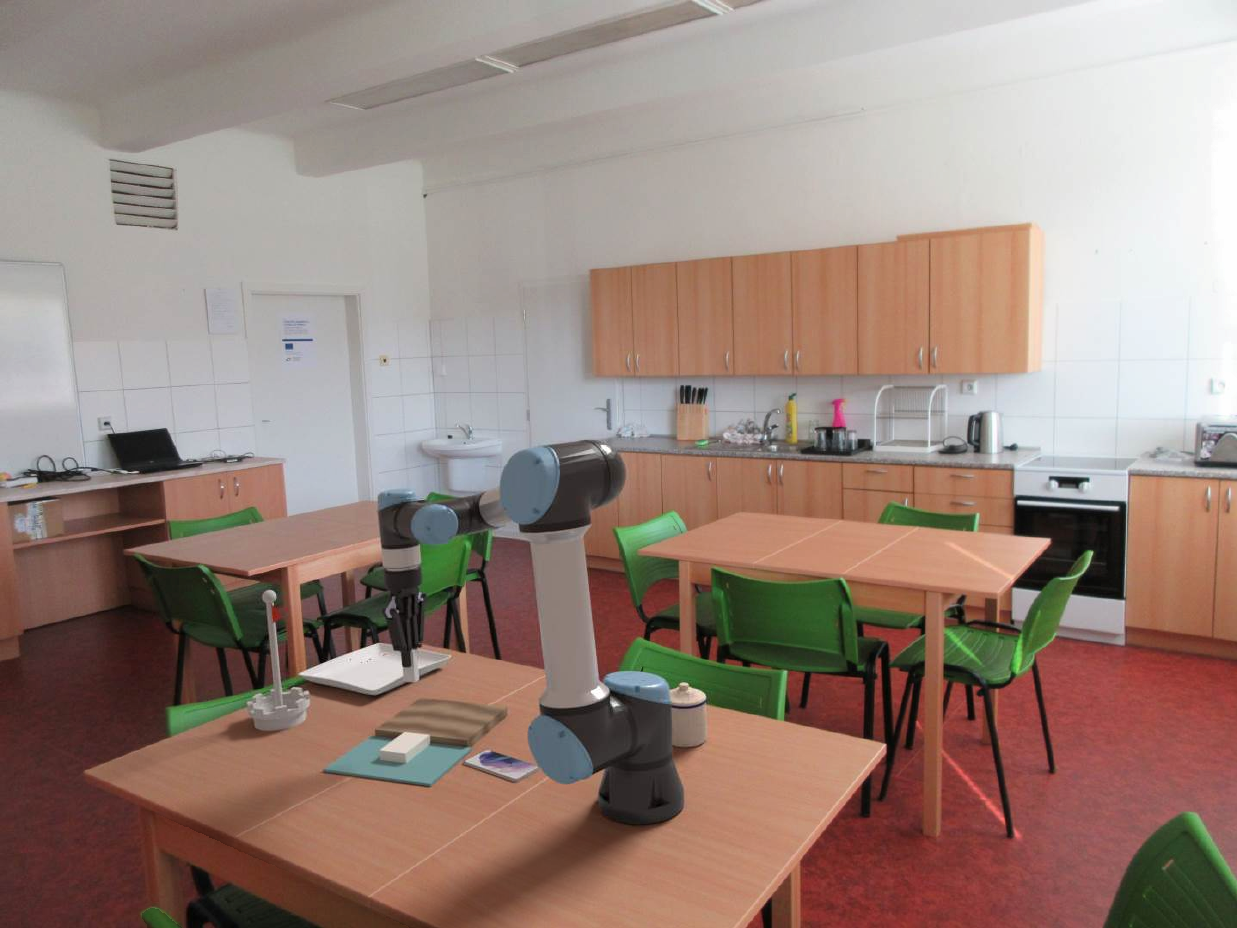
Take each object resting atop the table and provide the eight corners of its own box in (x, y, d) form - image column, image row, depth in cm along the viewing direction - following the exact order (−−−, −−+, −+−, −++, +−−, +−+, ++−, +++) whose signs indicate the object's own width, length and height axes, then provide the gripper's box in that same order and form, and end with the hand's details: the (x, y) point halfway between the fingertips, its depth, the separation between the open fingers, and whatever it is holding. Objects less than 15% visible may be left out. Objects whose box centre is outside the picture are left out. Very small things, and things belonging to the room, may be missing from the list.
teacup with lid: (715, 734, 189) (714, 680, 187) (694, 752, 181) (692, 695, 180) (665, 723, 195) (663, 670, 194) (642, 740, 188) (640, 685, 186)
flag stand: (238, 723, 206) (225, 592, 202) (293, 704, 215) (281, 579, 211) (266, 737, 197) (253, 601, 193) (322, 718, 206) (310, 588, 203)
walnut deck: (467, 749, 187) (467, 740, 186) (375, 738, 194) (374, 729, 194) (507, 715, 203) (507, 706, 203) (421, 706, 211) (420, 697, 211)
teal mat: (430, 786, 171) (430, 783, 171) (323, 771, 180) (323, 769, 179) (472, 749, 186) (472, 747, 186) (371, 737, 194) (371, 735, 194)
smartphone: (486, 748, 186) (541, 766, 177) (487, 752, 186) (542, 770, 177) (460, 761, 180) (516, 780, 171) (461, 765, 180) (516, 784, 171)
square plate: (454, 668, 237) (453, 653, 236) (374, 705, 214) (373, 689, 213) (379, 653, 251) (378, 639, 251) (297, 686, 228) (295, 671, 228)
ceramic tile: (406, 763, 180) (405, 753, 180) (380, 759, 182) (379, 750, 182) (430, 744, 189) (429, 734, 189) (405, 740, 191) (404, 731, 191)
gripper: (404, 558, 191) (413, 668, 194) (366, 573, 179) (377, 690, 182) (435, 559, 189) (444, 671, 191) (400, 574, 176) (409, 693, 179)
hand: (411, 680), depth 186 cm, fingers closed
